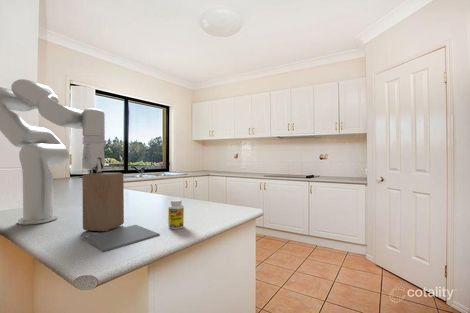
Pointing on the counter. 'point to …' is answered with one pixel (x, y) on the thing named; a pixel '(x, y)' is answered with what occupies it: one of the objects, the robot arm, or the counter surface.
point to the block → (103, 201)
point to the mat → (119, 237)
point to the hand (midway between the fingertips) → (94, 187)
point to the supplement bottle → (176, 214)
